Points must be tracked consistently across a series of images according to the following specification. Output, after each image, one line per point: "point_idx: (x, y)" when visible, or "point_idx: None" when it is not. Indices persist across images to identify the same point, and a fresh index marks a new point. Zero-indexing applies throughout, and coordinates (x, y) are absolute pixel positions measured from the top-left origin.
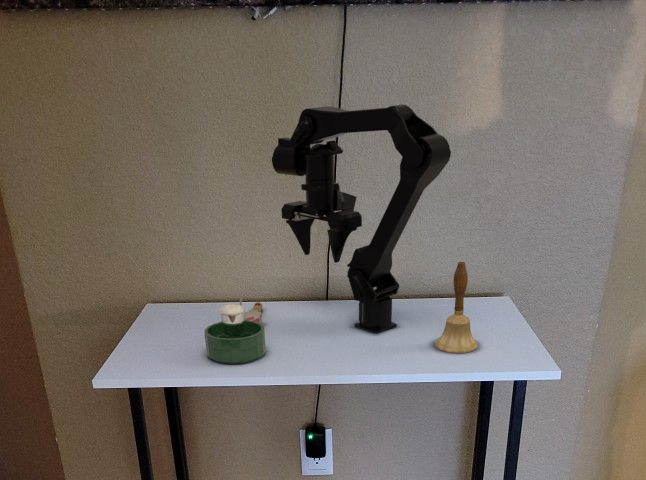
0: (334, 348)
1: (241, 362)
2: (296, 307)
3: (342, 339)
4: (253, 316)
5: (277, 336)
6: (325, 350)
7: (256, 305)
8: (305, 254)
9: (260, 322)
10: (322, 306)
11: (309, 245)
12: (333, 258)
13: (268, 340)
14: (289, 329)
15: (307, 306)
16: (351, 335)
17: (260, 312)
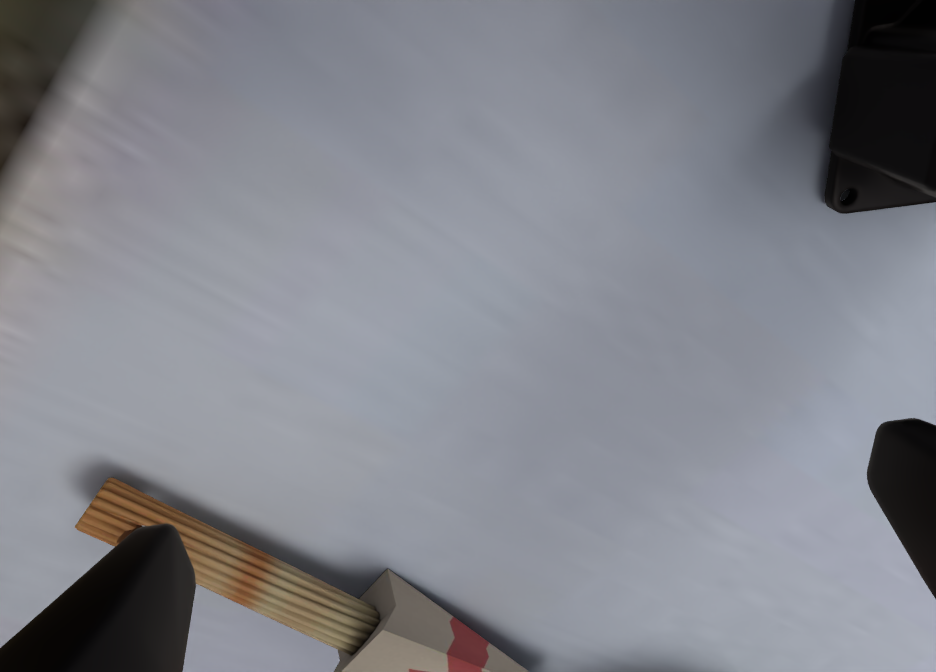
0: None
1: None
2: (183, 272)
3: (891, 379)
4: (411, 670)
5: (591, 582)
6: None
7: None
8: (190, 592)
9: (429, 616)
10: (274, 92)
11: (115, 649)
12: (912, 547)
13: (604, 626)
14: (549, 503)
15: (204, 192)
16: (897, 306)
17: (388, 636)
